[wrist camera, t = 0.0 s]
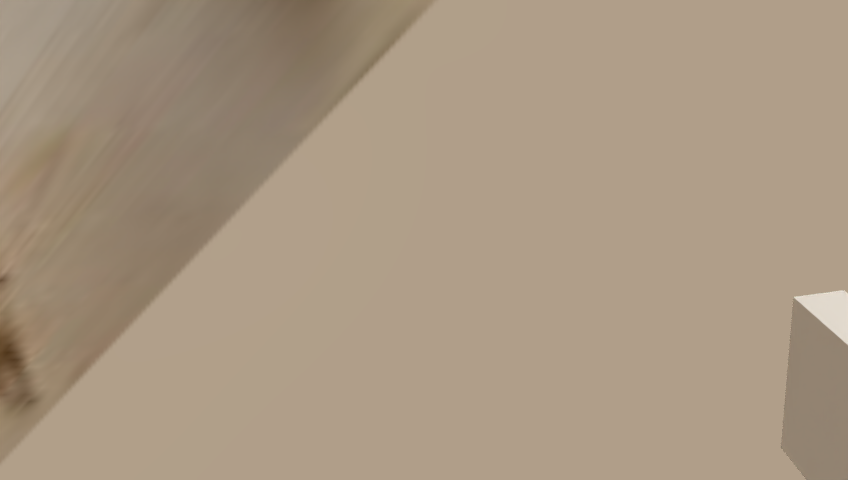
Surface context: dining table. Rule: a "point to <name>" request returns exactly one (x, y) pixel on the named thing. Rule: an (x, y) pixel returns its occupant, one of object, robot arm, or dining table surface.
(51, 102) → the dining table surface
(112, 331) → the dining table surface
